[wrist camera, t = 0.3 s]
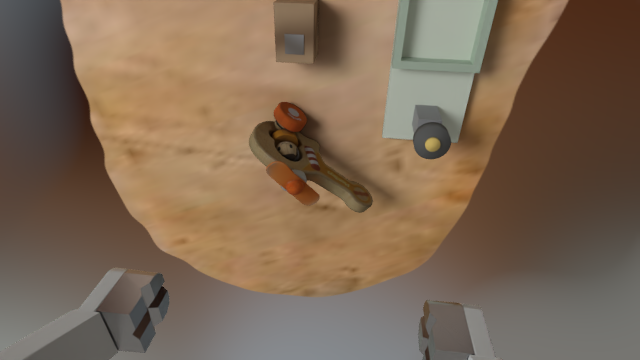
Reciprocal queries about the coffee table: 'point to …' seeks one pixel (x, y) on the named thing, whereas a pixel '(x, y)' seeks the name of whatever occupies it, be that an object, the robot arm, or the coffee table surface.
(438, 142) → the wheel knob
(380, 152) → the coffee table surface
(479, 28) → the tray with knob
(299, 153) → the toy helicopter
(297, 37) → the brown rectangular block
